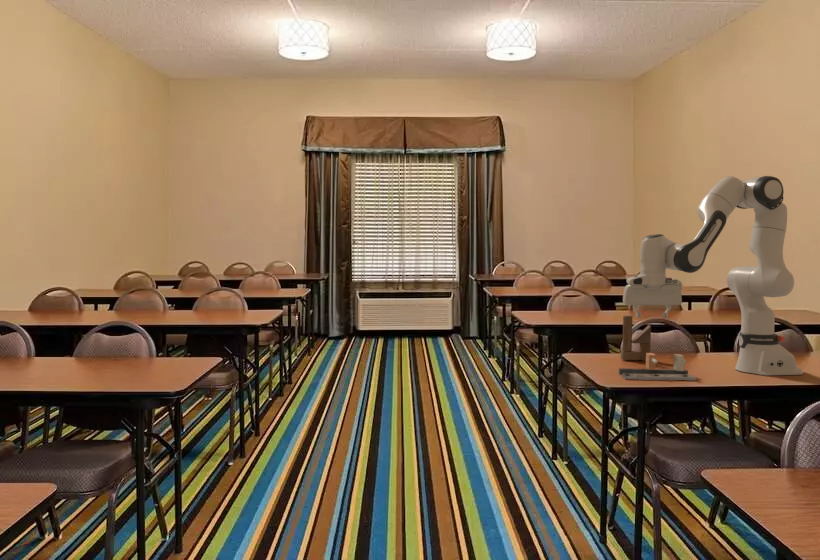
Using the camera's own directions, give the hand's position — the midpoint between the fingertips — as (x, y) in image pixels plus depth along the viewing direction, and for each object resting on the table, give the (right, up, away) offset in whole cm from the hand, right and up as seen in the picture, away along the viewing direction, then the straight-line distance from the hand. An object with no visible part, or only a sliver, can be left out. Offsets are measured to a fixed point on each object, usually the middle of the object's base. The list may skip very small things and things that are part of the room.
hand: (651, 317), depth 255 cm
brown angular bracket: (+3, -19, +29) cm, 35 cm away
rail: (+1, -21, -1) cm, 21 cm away
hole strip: (0, -21, -6) cm, 22 cm away
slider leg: (0, -19, -1) cm, 19 cm away
